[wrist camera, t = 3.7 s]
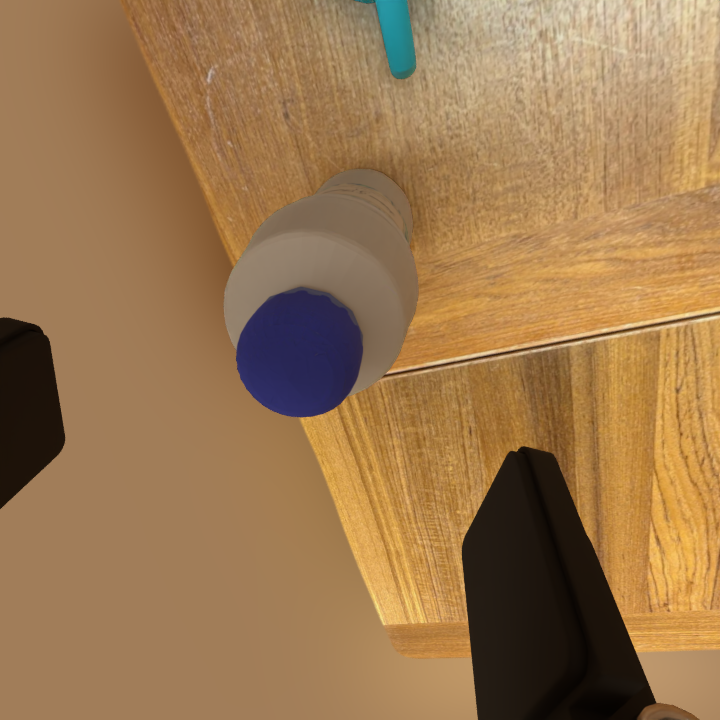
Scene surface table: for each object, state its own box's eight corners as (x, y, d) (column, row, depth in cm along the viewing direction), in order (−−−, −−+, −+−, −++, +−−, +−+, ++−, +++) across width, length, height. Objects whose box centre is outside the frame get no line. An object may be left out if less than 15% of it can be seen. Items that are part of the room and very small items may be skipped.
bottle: (432, 182, 27) (467, 306, 9) (394, 281, 30) (369, 506, 13) (328, 144, 26) (167, 201, 9) (302, 249, 30) (146, 436, 12)
